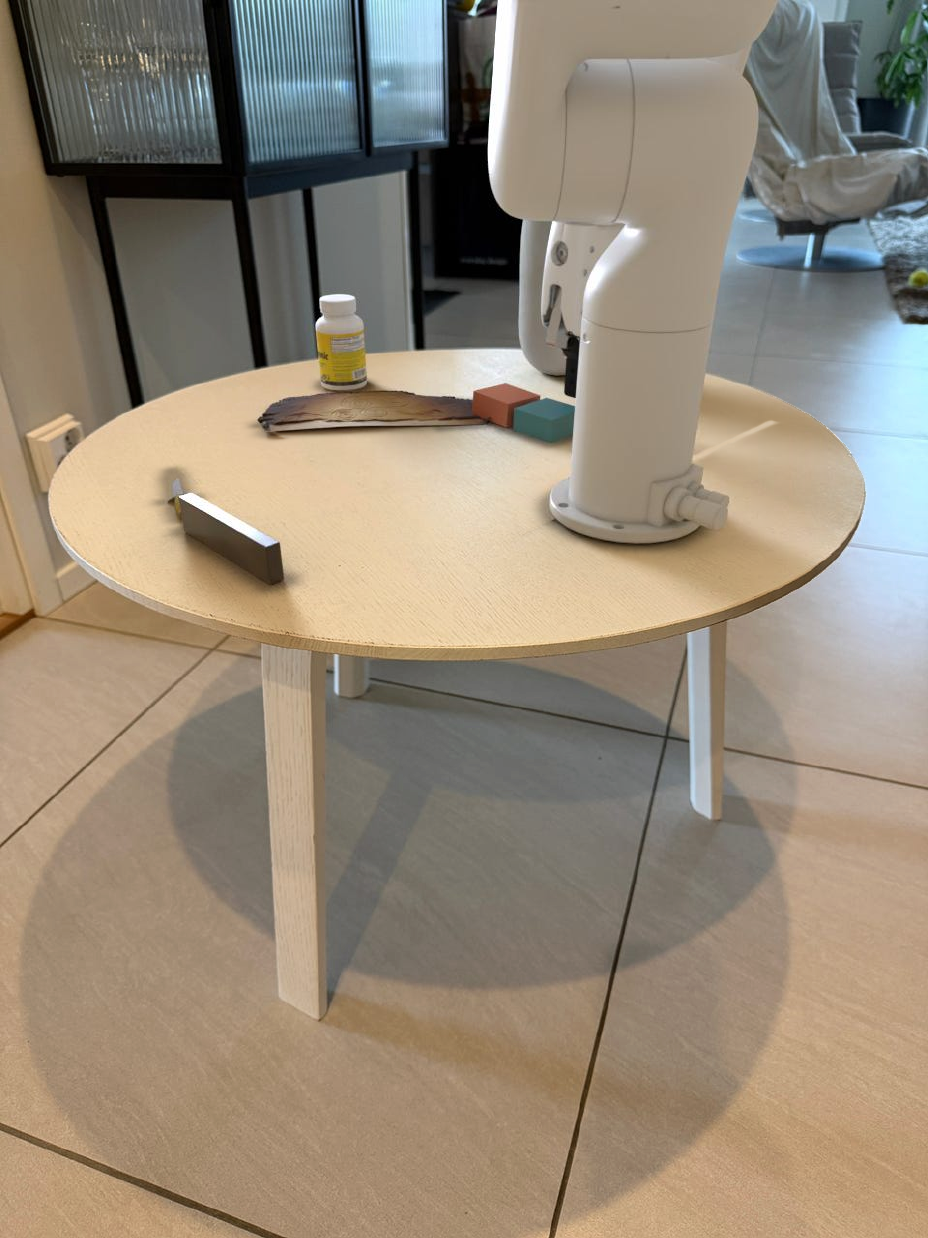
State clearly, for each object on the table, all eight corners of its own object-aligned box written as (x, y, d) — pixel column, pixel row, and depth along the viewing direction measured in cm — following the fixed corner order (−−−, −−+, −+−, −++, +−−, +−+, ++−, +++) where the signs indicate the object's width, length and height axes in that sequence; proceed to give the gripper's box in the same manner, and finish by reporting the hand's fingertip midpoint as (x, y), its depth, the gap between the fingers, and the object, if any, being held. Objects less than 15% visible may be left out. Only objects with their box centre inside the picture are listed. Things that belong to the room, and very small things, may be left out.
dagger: (160, 473, 79) (182, 466, 79) (164, 482, 79) (185, 475, 80) (168, 514, 70) (193, 505, 70) (173, 524, 70) (197, 515, 71)
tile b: (538, 418, 92) (540, 395, 91) (505, 427, 89) (508, 403, 88) (503, 405, 95) (505, 382, 94) (471, 413, 92) (473, 390, 91)
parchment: (256, 433, 87) (256, 424, 87) (262, 400, 95) (261, 392, 95) (501, 427, 90) (501, 419, 90) (486, 395, 98) (486, 388, 98)
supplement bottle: (319, 379, 104) (312, 293, 98) (365, 377, 104) (360, 291, 99) (321, 393, 99) (314, 303, 94) (369, 390, 100) (364, 301, 95)
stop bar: (284, 579, 62) (280, 542, 61) (270, 585, 61) (265, 547, 60) (197, 527, 69) (191, 492, 68) (183, 531, 69) (177, 496, 67)
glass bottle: (515, 361, 111) (524, 105, 96) (596, 362, 111) (617, 106, 96) (516, 383, 103) (526, 108, 88) (603, 385, 102) (628, 108, 88)
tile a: (582, 432, 89) (584, 408, 87) (550, 444, 86) (552, 419, 84) (545, 420, 92) (546, 397, 90) (513, 432, 89) (513, 407, 87)
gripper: (575, 214, 74) (561, 422, 84) (676, 199, 83) (652, 389, 93) (511, 205, 78) (504, 404, 88) (612, 191, 87) (596, 374, 97)
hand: (580, 396), depth 90 cm, fingers closed
